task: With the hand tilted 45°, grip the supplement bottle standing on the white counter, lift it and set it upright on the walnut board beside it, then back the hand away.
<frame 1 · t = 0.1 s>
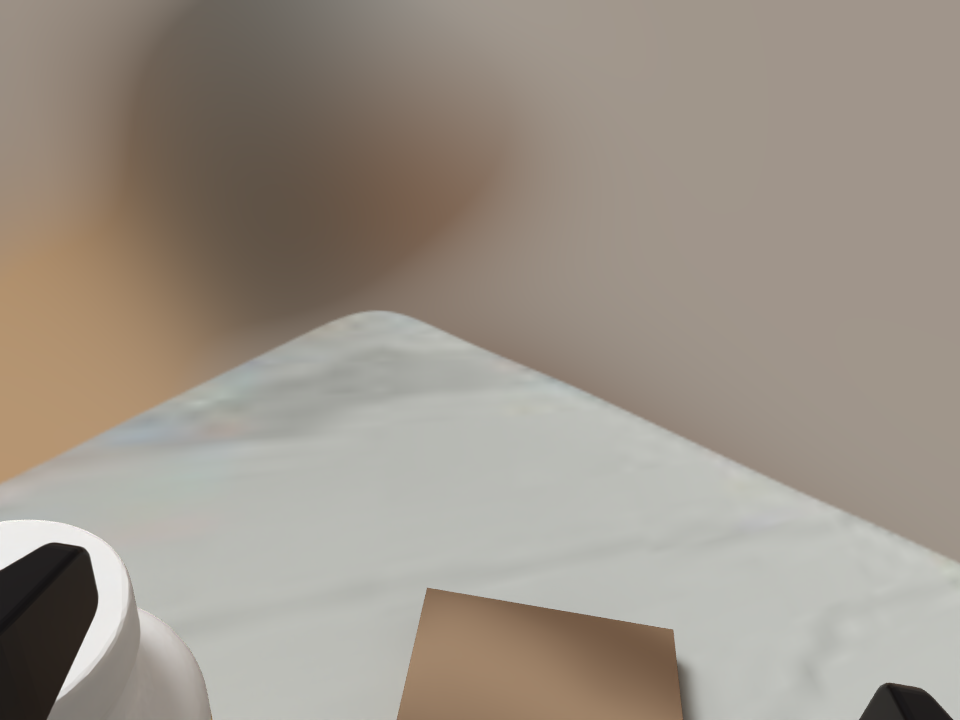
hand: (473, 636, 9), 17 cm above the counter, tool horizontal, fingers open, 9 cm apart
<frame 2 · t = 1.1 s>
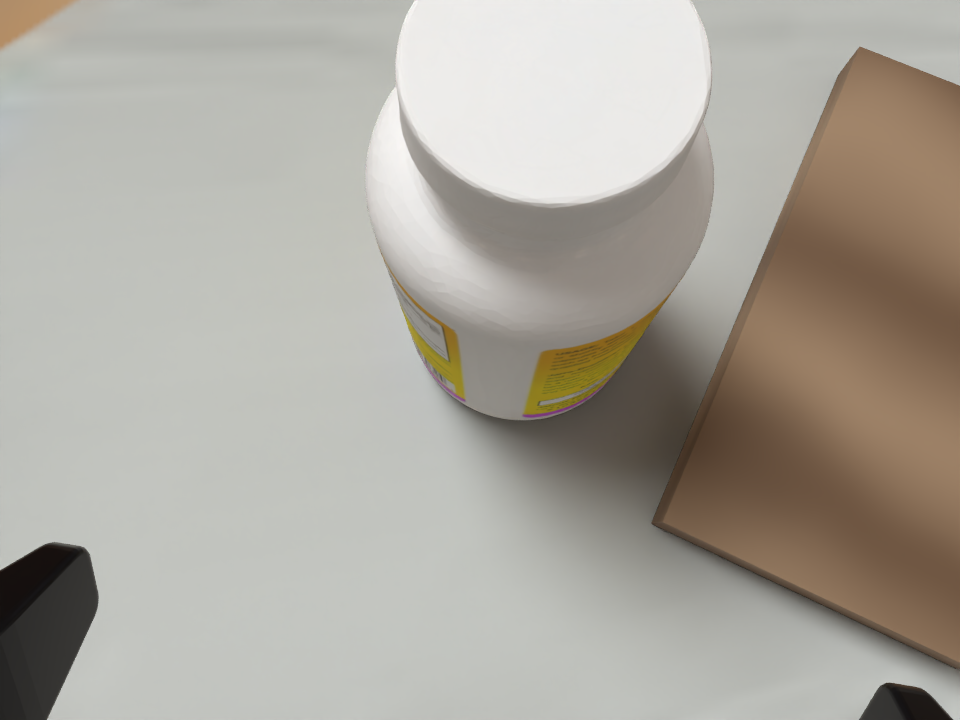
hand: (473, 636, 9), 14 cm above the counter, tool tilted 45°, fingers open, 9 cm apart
walnut board: (891, 344, 23), on the counter
supplement bottle: (519, 318, 24), on the counter
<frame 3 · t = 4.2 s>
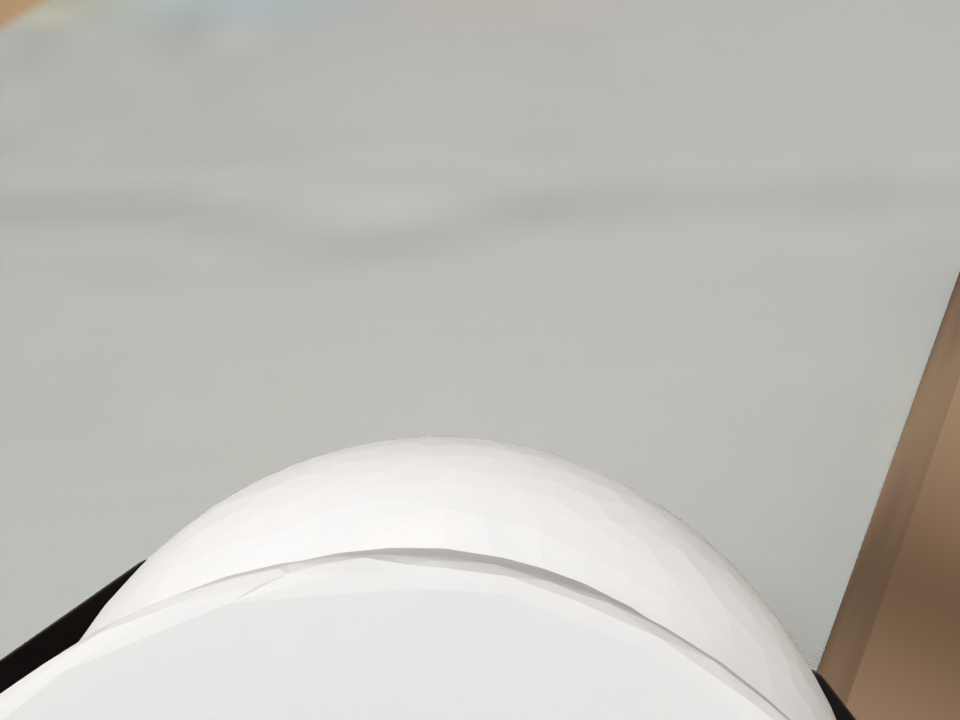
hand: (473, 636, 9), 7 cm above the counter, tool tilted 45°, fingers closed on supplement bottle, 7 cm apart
supplement bottle: (467, 672, 15), on the counter, touching gripper
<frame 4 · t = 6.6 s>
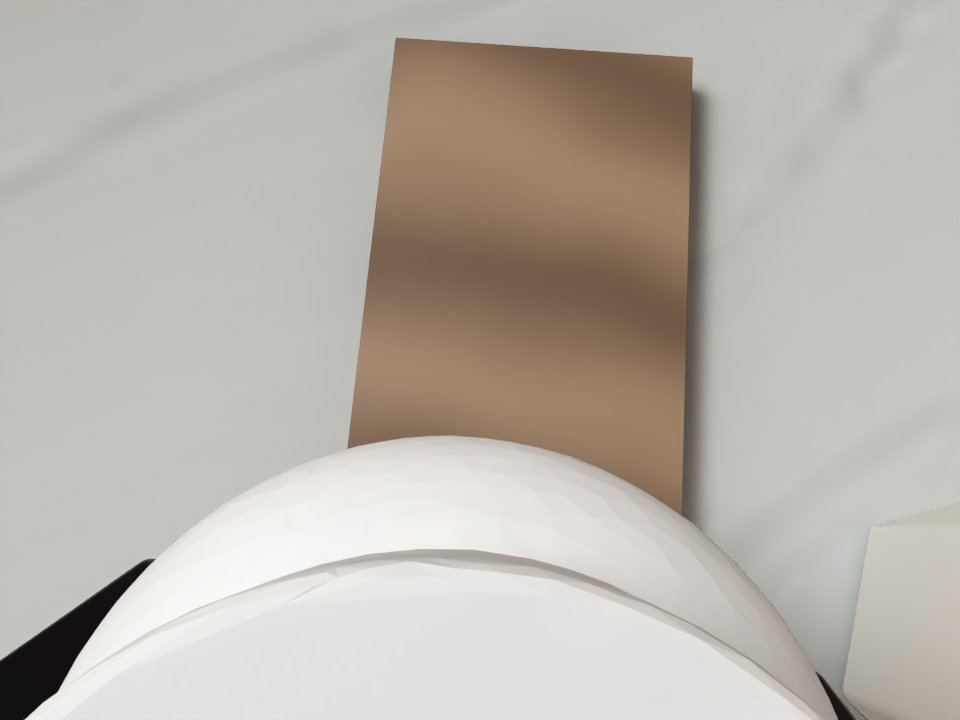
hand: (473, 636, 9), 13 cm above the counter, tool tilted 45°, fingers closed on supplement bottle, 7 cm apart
walnut board: (523, 314, 23), on the counter
supplement bottle: (455, 665, 15), point 6 cm above the counter, touching gripper
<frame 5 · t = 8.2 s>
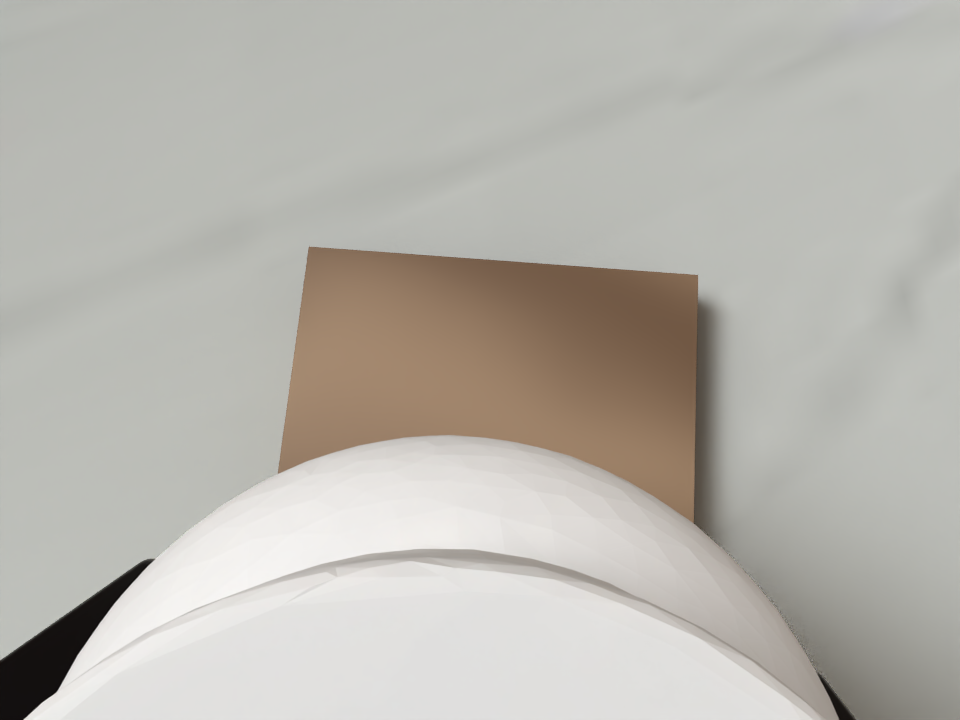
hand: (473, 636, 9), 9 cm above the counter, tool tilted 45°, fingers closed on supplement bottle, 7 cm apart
walnut board: (475, 617, 18), on the counter
supplement bottle: (455, 665, 15), point 2 cm above the counter, touching gripper
when the fingers open (9 cm above the counter, at t = 9.3 s): supplement bottle stays where it is, resting on walnut board.
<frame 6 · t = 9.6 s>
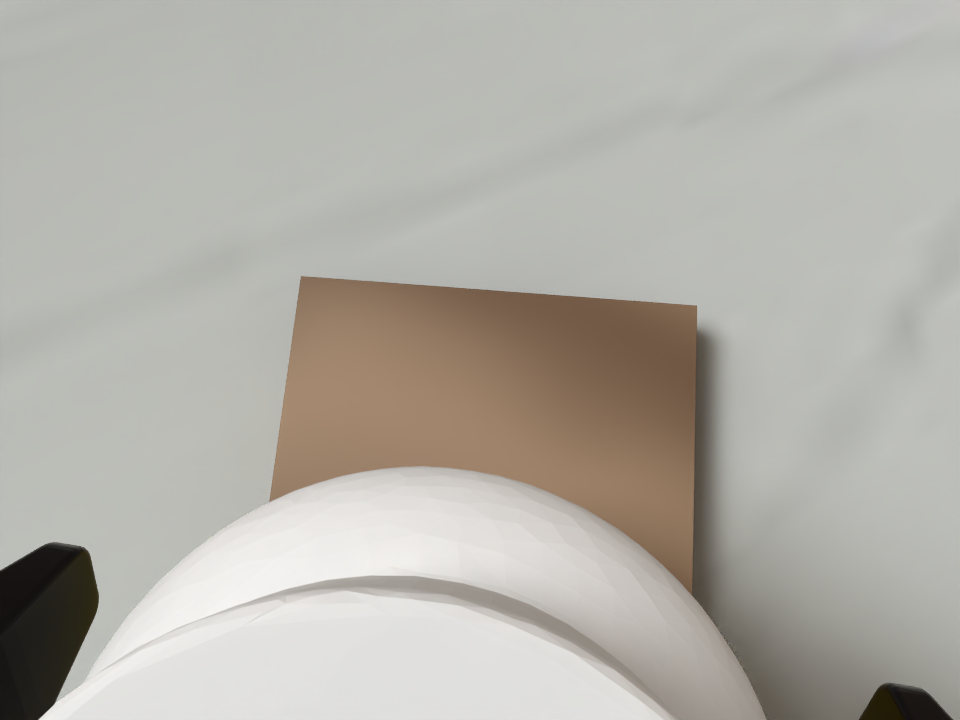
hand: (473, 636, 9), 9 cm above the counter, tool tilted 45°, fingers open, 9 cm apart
walnut board: (469, 654, 17), on the counter
supplement bottle: (456, 672, 16), point 1 cm above the counter, touching walnut board
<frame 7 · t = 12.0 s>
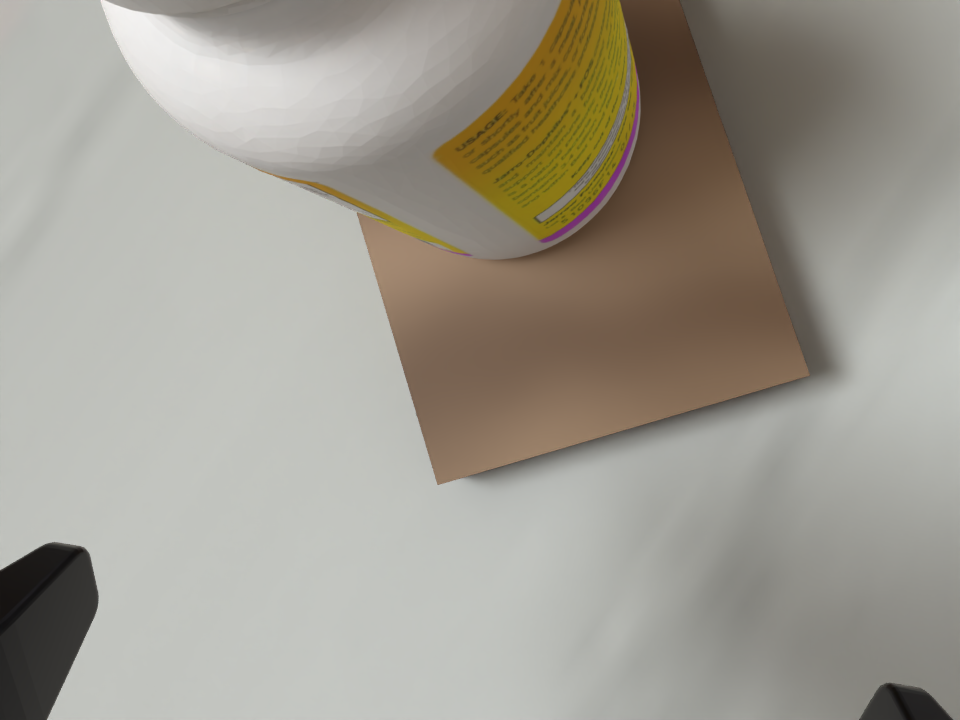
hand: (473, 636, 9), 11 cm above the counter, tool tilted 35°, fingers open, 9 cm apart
walnut board: (523, 134, 20), on the counter
supplement bottle: (505, 130, 19), point 1 cm above the counter, touching walnut board
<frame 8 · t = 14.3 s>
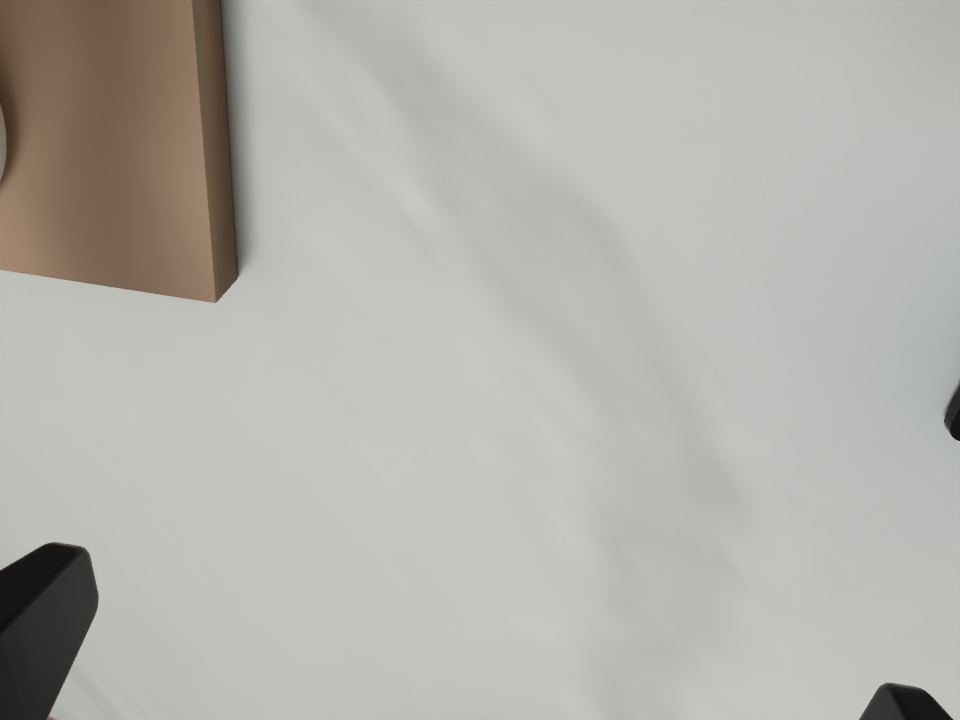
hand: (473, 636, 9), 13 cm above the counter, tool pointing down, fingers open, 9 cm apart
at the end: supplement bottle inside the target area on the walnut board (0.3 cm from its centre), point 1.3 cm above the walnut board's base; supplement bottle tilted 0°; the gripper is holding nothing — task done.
